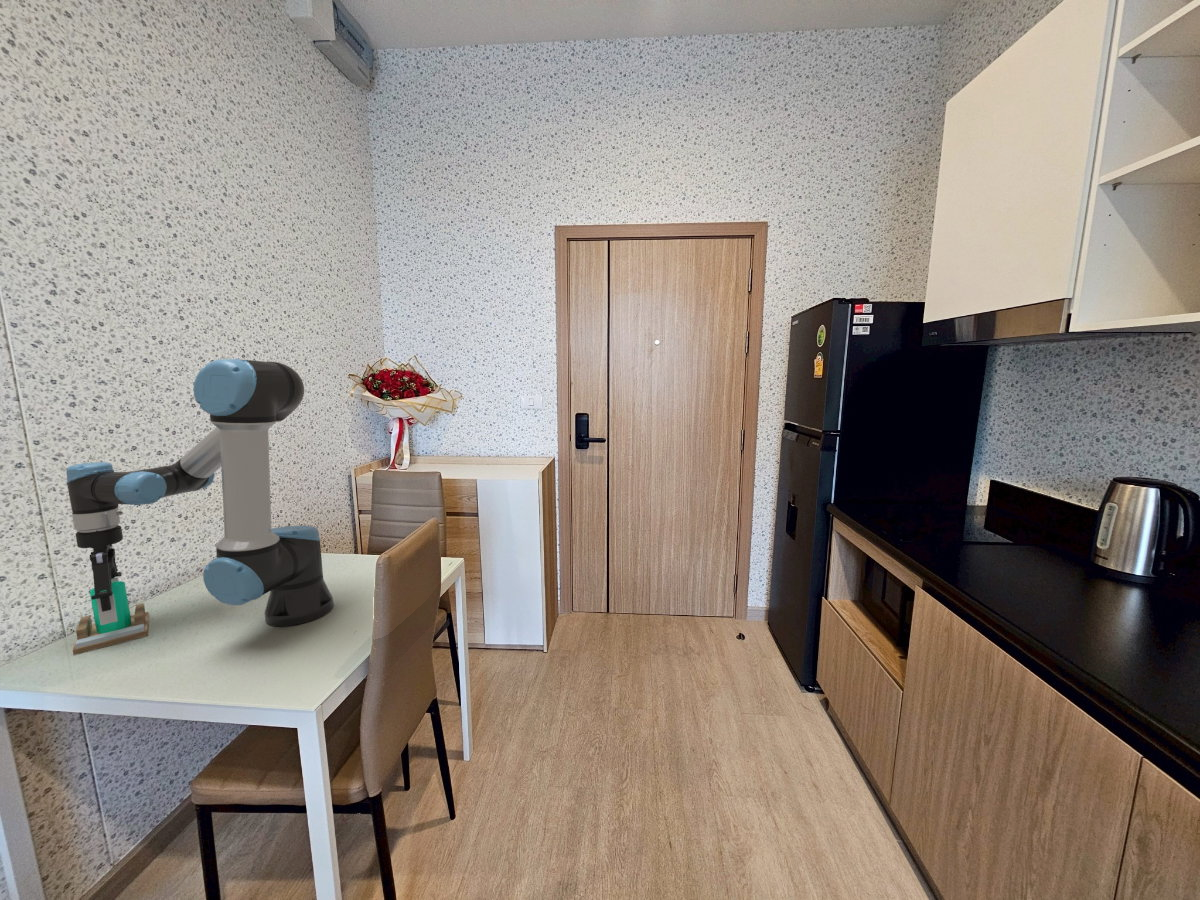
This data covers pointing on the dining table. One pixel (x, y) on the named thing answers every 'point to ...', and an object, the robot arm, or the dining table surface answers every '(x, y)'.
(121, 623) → the candle
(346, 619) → the dining table surface
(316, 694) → the dining table surface
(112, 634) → the wing slat
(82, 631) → the jig
